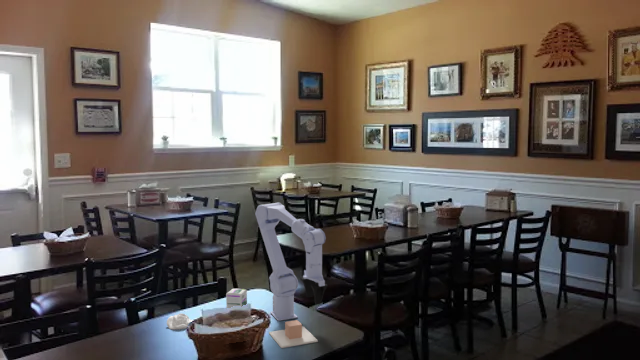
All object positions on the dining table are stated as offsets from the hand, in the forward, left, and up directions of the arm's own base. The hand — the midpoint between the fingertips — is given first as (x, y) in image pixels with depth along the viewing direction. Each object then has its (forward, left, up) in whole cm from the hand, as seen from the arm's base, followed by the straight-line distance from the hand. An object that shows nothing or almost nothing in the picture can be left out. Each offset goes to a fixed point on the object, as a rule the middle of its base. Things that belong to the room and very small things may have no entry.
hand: (314, 300), depth 183 cm
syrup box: (-9, -26, -11) cm, 29 cm away
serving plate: (+5, -10, -10) cm, 15 cm away
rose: (-22, -44, -11) cm, 50 cm away
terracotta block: (+5, -10, -10) cm, 15 cm away
